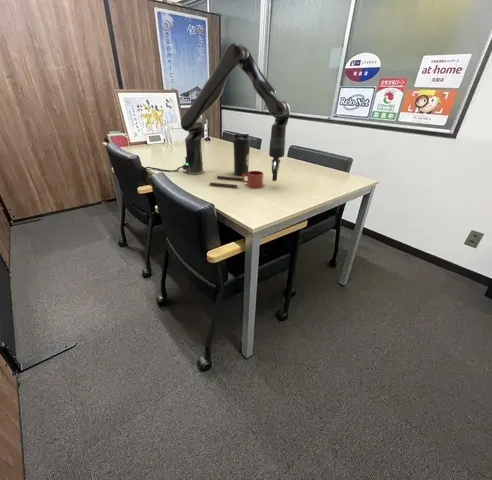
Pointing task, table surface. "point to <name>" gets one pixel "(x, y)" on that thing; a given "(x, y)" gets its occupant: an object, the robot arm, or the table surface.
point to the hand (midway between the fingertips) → (274, 180)
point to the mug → (254, 179)
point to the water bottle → (241, 154)
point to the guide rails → (226, 184)
